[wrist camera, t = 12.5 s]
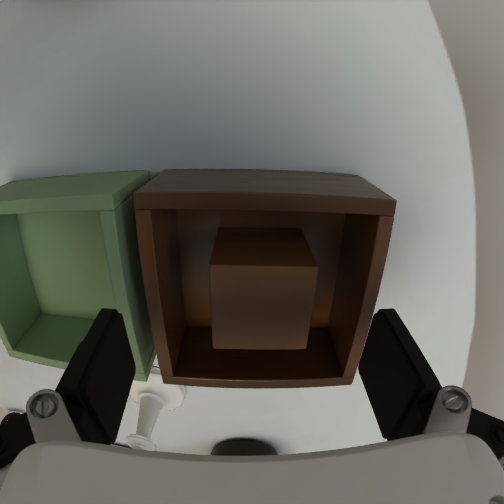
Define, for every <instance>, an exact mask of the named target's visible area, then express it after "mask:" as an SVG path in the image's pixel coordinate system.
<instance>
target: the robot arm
mask: <svg viewBox="0 0 504 504" xmlns="http://www.w3.org/2000/svg"><path fill="white" fill-rule="evenodd" d="M358 370H359V374H360V376H361V379H362V382H363V384H364V387H365V389H366V392H367V395H368V398H369V400H370V403H371V406H372V408H373V411H374V414H375V417H376V419H377V422H378V425H379V428H380V431H381V433H382V436H383V438H385V439H386V438H387V440H388V441H386V442H381V443H375V444H369V445H364V446H358V447H351V448H344V449H337V450H329V451H320V452H310V453H299V454H285V455H264V456H214V455H192V454H178V453H166V452H157V451H148V450H140V449H132V448H124V447H118V446H111V442H115V441H116V438H117V434H118V430H119V427H120V423H121V420H122V416H123V413H124V409H125V406H126V402H127V399H128V396H129V392H130V389H131V386H132V383H133V379H134V376H135V373H136V365H135V361H134V357H133V354H132V350H131V347H130V343H129V339H128V335H127V331H126V327H125V323H124V319H123V315H122V314H121V313H118V311H117V309H109V308H102V309H101V310H100V311H99V313H98V315H97V317H96V318H95V320H94V322H93V324H92V326H91V327H90V329H89V331H88V333H87V335H86V336H85V338H84V340H83V341H81V342H80V344H79V345H78V347H77V349H76V351H75V353H74V354H73V356H72V358H71V360H70V362H69V364H68V366H67V368H66V370H65V372H64V374H63V376H62V378H61V380H60V382H59V384H58V386H57V388H56V390H55V391H54V390H51V389H44V390H40V391H38V392H36V393H34V394H33V395H32V396H31V397H30V398H29V400H28V401H27V404H26V413H24V414H22V415H19V416H17V417H15V418H13V419H10V420H8V421H6V422H4V423H2V424H0V504H504V421H502V420H500V419H497V418H495V417H492V416H490V415H488V414H485V413H483V412H480V411H478V410H476V409H473V408H472V400H471V397H470V396H469V395H468V393H467V392H466V391H465V390H464V389H462V388H460V387H457V386H453V385H452V386H445V387H443V388H442V386H441V385H440V382H439V381H438V379H437V377H436V375H435V374H434V372H433V370H432V369H431V367H430V365H429V363H428V362H427V360H426V358H425V357H424V355H423V354H422V352H421V350H420V349H419V347H418V345H417V344H416V342H415V341H414V339H413V337H412V336H411V334H410V333H409V331H408V329H407V328H406V326H405V325H404V323H403V322H402V320H401V318H400V317H399V315H398V314H397V312H396V311H395V310H394V309H380V310H378V312H377V313H375V314H374V315H373V318H372V322H371V325H370V329H369V332H368V336H367V339H366V342H365V346H364V349H363V352H362V355H361V358H360V361H359V365H358Z"/></svg>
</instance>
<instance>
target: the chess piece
mask: <svg viewBox="0 0 504 504" xmlns="http://www.w3.org/2000/svg"><path fill="white" fill-rule="evenodd" d="M129 395H130V397H131V398H132V399H133V400H134V401H135V402H137V403H138V404H140V410H139V418H138V425H137V432H136V434H131V435H128V436H127V437H126V440H127V444H128V445H129V446H130V447H131V448H132V449H140V450H148V451H154V449H155V448H156V444H155V443H154V441H152V440H151V439H149V438H150V435H151V432H152V429H153V427H154V424H155V422H156V420H157V417H158V415H159V413H160V411H172V410H175V409H177V408H178V407H180V406H181V405H182V403H183V401H184V398H185V396H186V389H185V387H184V385H173V384H164V383H163V380H162V376H161V372H160V368H157V367H152V368H151V371H150V374H149V377H148V380H147V382H143V381H134V380H133V383H132V386H131V389H130V392H129Z"/></svg>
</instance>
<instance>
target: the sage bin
mask: <svg viewBox="0 0 504 504" xmlns="http://www.w3.org/2000/svg"><path fill="white" fill-rule="evenodd" d="M147 182H149V171H148V170H139V171H119V172H103V173H89V174H77V175H66V176H56V177H46V178H37V179H29V180H21V181H13V182H9V183H6V184H4V185H2V186H0V336H1V339H2V341H3V343H4V345H5V347H6V348H7V349H6V350H7V352H8V354H9V356H11V357H14V358H18V359H22V360H26V361H30V362H34V363H38V364H43V365H47V366H52V367H56V368H61V369H66V368H67V366H68V364H69V362H70V360H71V358H72V356H73V354H74V353H75V351H76V349H77V347H78V345H79V344H80V342H81V341H83V340H84V338H85V336H86V335H87V333H88V331H89V329H90V327H91V326H92V324H93V322H94V320H95V318H96V317H97V315H98V313H99V311H100V310H101V309H102V308H109V309H117V311H118V313H121V314H122V315H123V319H124V323H125V327H126V331H127V335H128V339H129V343H130V347H131V350H132V354H133V357H134V361H135V365H136V373H135V376H134V379H133V380H134V381H143V382H147V380H148V377H149V374H150V371H151V368H152V365H153V362H154V359H155V356H156V349H155V344H154V339H153V334H152V329H151V323H150V318H149V312H148V306H147V301H146V294H145V288H144V281H143V275H142V268H141V260H140V253H139V244H138V236H137V227H136V217H135V210H136V209H135V207H134V195H133V194H134V192H135V191H137V190H138V189H139V188H141V187H142V186H143V185H145V184H146V183H147Z"/></svg>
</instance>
